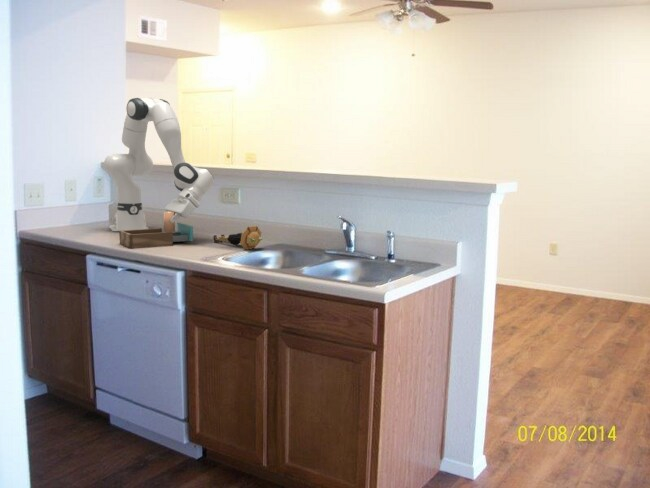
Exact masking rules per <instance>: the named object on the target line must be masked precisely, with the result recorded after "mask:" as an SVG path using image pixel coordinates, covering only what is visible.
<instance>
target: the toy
mask: <svg viewBox="0 0 650 488" xmlns="http://www.w3.org/2000/svg"><path fill="white" fill-rule="evenodd" d="M220 235H221V236H220V237H218V236H217V235H216V234H214V235H213V242H214V243H216V244H217V243H220V244H223V243H226V242H227V243H230V244H231V245H233V246H237V245H239V244H240V246H241V247H243V249H244V250H245V249H246V250H252V248H254V249H255V248H256V247H257V246H258V245H259V244H260V243H261V241H263V238H262V231H261V230H260V228H259V227H258V226H257V225H250V226H247V227H246V228H245V230H244V231H243V232H238V233H233V234H229V235H228V236H225V234H220Z"/></svg>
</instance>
